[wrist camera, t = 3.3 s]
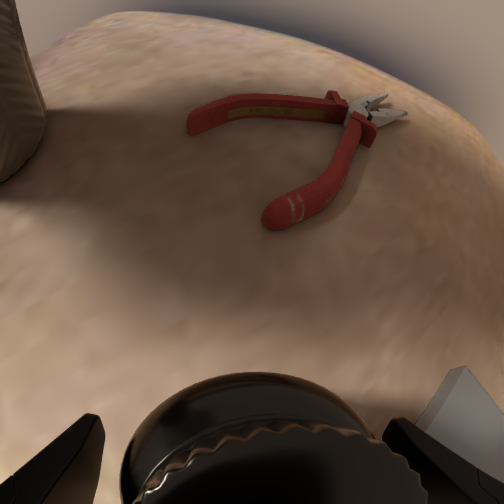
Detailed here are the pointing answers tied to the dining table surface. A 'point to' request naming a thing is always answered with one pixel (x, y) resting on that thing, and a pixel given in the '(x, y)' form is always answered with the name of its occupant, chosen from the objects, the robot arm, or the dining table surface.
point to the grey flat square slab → (467, 422)
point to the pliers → (308, 109)
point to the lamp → (17, 96)
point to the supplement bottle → (262, 448)
